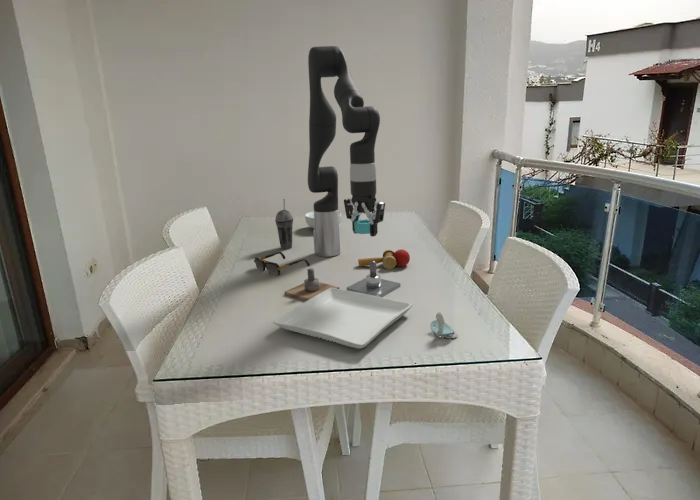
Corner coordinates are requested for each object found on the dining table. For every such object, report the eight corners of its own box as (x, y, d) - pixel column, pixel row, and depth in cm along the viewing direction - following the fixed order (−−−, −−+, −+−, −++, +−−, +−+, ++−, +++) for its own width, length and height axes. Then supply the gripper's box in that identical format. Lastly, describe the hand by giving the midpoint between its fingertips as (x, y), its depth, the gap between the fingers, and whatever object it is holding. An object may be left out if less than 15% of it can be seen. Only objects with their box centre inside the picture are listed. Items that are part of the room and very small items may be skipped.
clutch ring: (351, 232, 146) (350, 222, 145) (363, 228, 150) (362, 218, 149) (366, 234, 142) (366, 224, 141) (378, 230, 146) (378, 220, 146)
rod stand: (284, 294, 150) (282, 271, 148) (311, 282, 159) (309, 260, 157) (313, 303, 143) (311, 279, 141) (339, 290, 152) (338, 267, 149)
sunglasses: (310, 266, 176) (309, 253, 174) (276, 278, 165) (275, 264, 164) (285, 259, 185) (284, 246, 184) (252, 270, 175) (250, 256, 173)
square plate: (363, 359, 112) (363, 344, 110) (272, 334, 126) (270, 320, 124) (413, 314, 133) (413, 301, 132) (331, 297, 147) (330, 285, 146)
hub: (346, 290, 151) (345, 263, 148) (369, 279, 160) (368, 252, 157) (378, 298, 144) (377, 270, 141) (400, 286, 153) (400, 258, 150)
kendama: (359, 274, 168) (411, 266, 167) (356, 256, 168) (408, 248, 166) (360, 271, 176) (410, 263, 174) (358, 254, 175) (407, 246, 174)
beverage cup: (274, 249, 197) (269, 200, 191) (283, 244, 203) (279, 197, 197) (290, 251, 194) (286, 201, 188) (298, 245, 200) (295, 197, 194)
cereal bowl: (341, 232, 217) (340, 217, 215) (304, 234, 218) (303, 218, 216) (342, 223, 234) (341, 209, 231) (307, 224, 234) (306, 210, 232)
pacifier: (449, 327, 125) (427, 329, 124) (451, 304, 123) (428, 306, 122) (462, 340, 118) (438, 342, 117) (463, 316, 116) (439, 319, 115)
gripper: (335, 178, 143) (338, 234, 148) (375, 182, 134) (376, 240, 139) (352, 175, 149) (354, 228, 154) (390, 178, 140) (391, 234, 145)
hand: (365, 234), depth 146 cm, fingers closed on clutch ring, 5 cm apart
